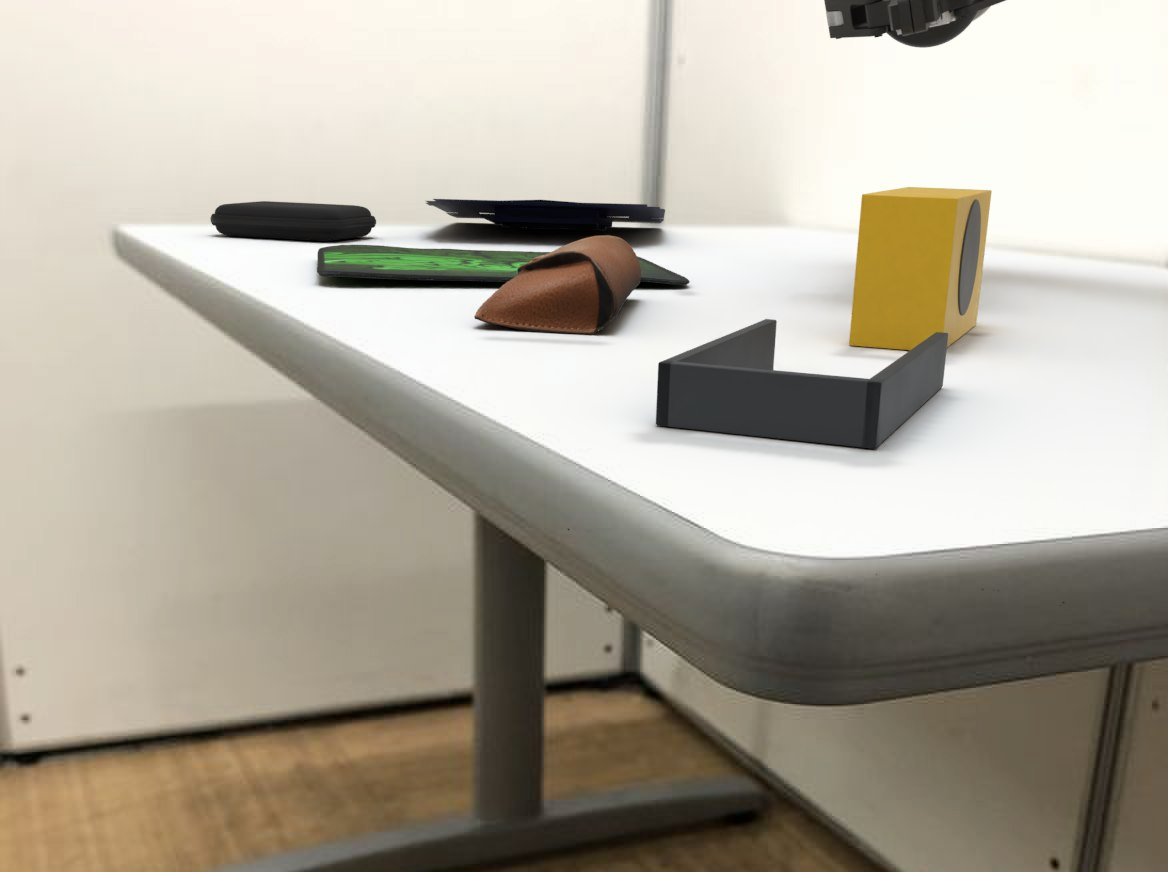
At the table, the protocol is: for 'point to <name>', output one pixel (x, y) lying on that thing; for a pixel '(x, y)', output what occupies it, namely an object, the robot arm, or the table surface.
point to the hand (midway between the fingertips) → (911, 15)
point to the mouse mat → (446, 264)
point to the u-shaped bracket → (792, 392)
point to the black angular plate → (550, 213)
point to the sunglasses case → (567, 288)
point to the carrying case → (293, 220)
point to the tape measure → (918, 265)
